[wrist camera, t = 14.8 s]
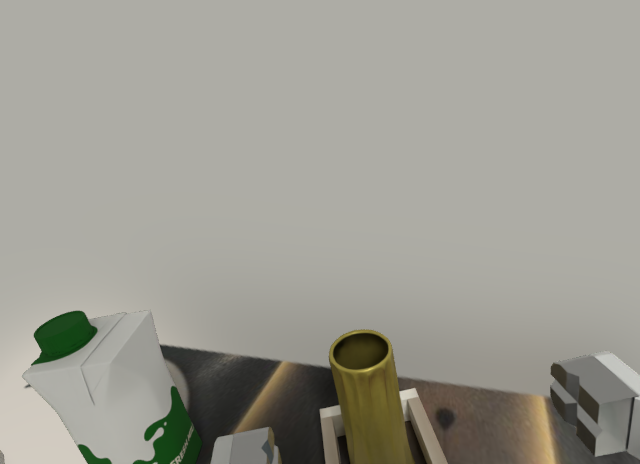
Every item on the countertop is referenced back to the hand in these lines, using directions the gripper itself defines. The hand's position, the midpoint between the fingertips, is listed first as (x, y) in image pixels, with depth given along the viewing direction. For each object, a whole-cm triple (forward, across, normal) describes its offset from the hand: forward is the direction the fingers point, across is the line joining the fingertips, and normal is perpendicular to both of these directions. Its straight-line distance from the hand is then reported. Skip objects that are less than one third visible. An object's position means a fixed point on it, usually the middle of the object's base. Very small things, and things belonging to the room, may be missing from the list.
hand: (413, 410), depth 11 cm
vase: (+18, 0, +26) cm, 32 cm away
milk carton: (+22, +23, +26) cm, 41 cm away
